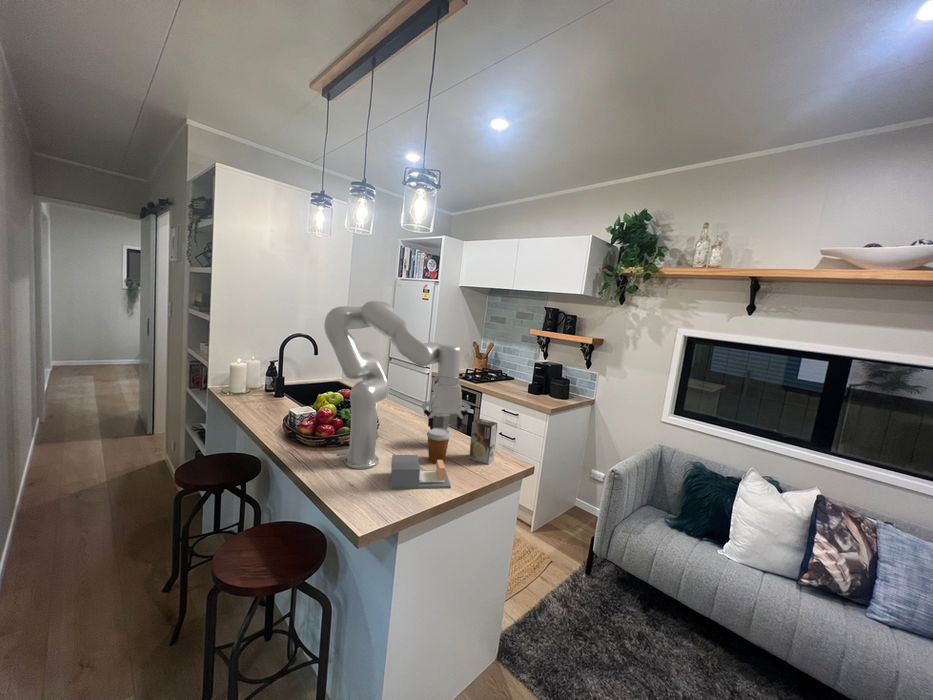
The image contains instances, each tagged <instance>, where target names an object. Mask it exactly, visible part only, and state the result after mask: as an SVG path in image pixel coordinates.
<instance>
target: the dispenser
mask: <svg viewBox="0 0 933 700" xmlns="http://www.w3.org/2000/svg"><path fill="white" fill-rule="evenodd" d="M391 456H392V458H391V470H390V473H391V474H390V484H391V488H390V489H391V490H394V489H395V490H398V489H399V490H401V489H403V490H405V489H407V490H408V489H411V490H412V489H416V490H417V489H451V487H452V485H451V482H450V480H449V476H448V473H447V470H446V469H445V477H444V482H428V483H419V482H422V478H421V472H420V471H436V469H435V470H429V469H428V470H421V468H420V461H419V457H418V454H392V455H391Z"/></svg>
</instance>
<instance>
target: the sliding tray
mask: <svg viewBox="0 0 933 700" xmlns="http://www.w3.org/2000/svg"><path fill="white" fill-rule="evenodd" d="M435 467H436V468H435V470H436V471H420V472H421V478H422V482H419V483H428V482H444V477H445V470H446V466H445V463H444V462H443V460H437V463H436V466H435Z"/></svg>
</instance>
